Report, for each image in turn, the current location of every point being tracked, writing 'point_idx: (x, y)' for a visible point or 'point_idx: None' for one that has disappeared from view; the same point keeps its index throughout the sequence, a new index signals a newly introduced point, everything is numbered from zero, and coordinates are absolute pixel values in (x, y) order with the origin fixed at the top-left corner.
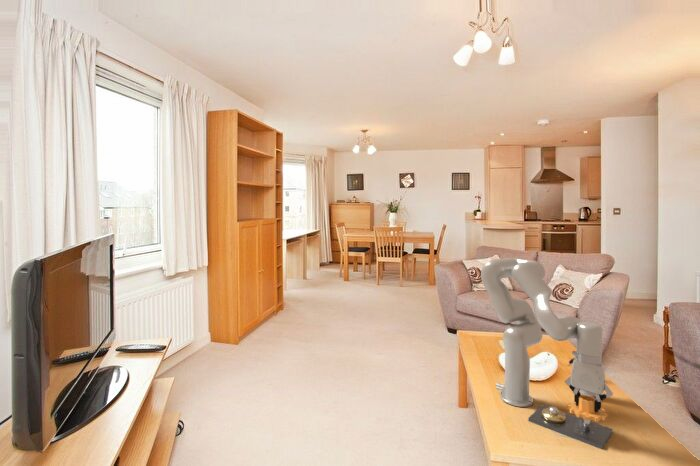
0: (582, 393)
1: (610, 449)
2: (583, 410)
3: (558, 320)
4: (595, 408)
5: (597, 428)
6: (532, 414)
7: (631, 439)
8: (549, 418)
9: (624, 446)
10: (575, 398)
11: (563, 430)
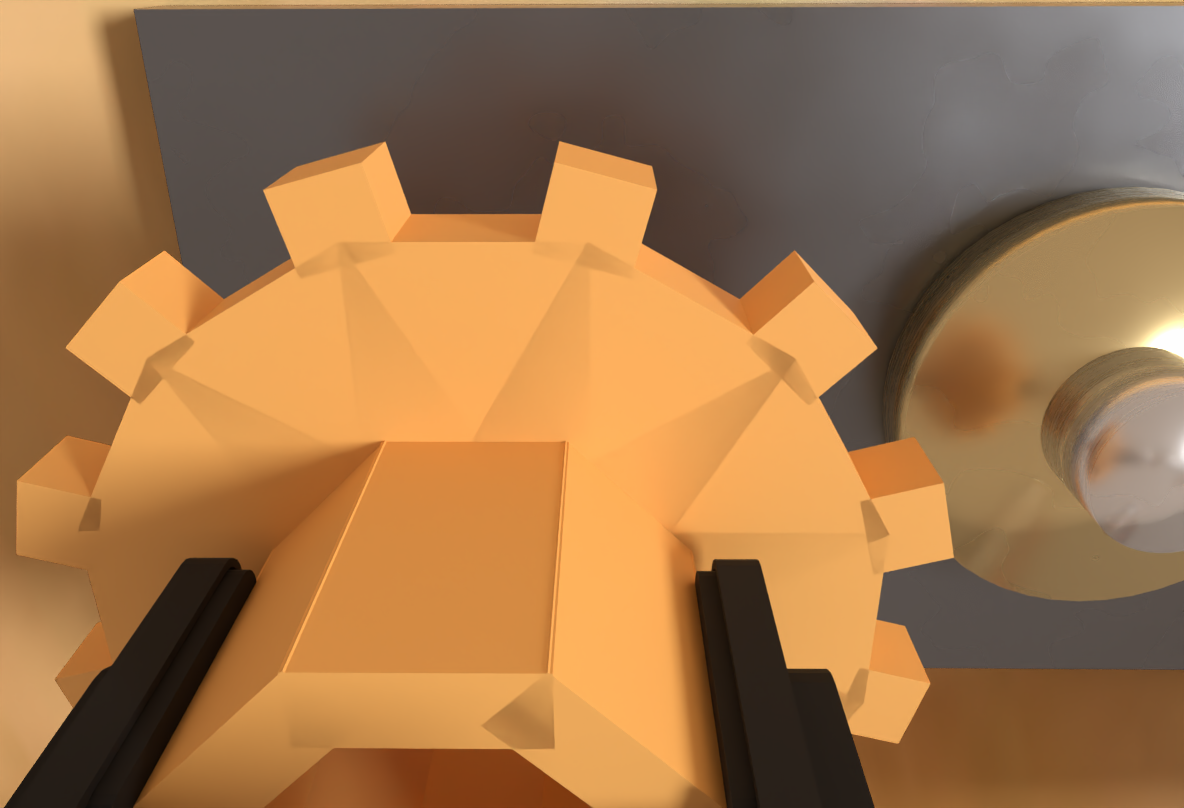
0: None
1: (82, 115)
2: (513, 455)
3: None
4: (178, 618)
5: None
6: None
7: (44, 616)
8: (1174, 201)
9: (6, 370)
10: (819, 750)
11: (842, 30)
